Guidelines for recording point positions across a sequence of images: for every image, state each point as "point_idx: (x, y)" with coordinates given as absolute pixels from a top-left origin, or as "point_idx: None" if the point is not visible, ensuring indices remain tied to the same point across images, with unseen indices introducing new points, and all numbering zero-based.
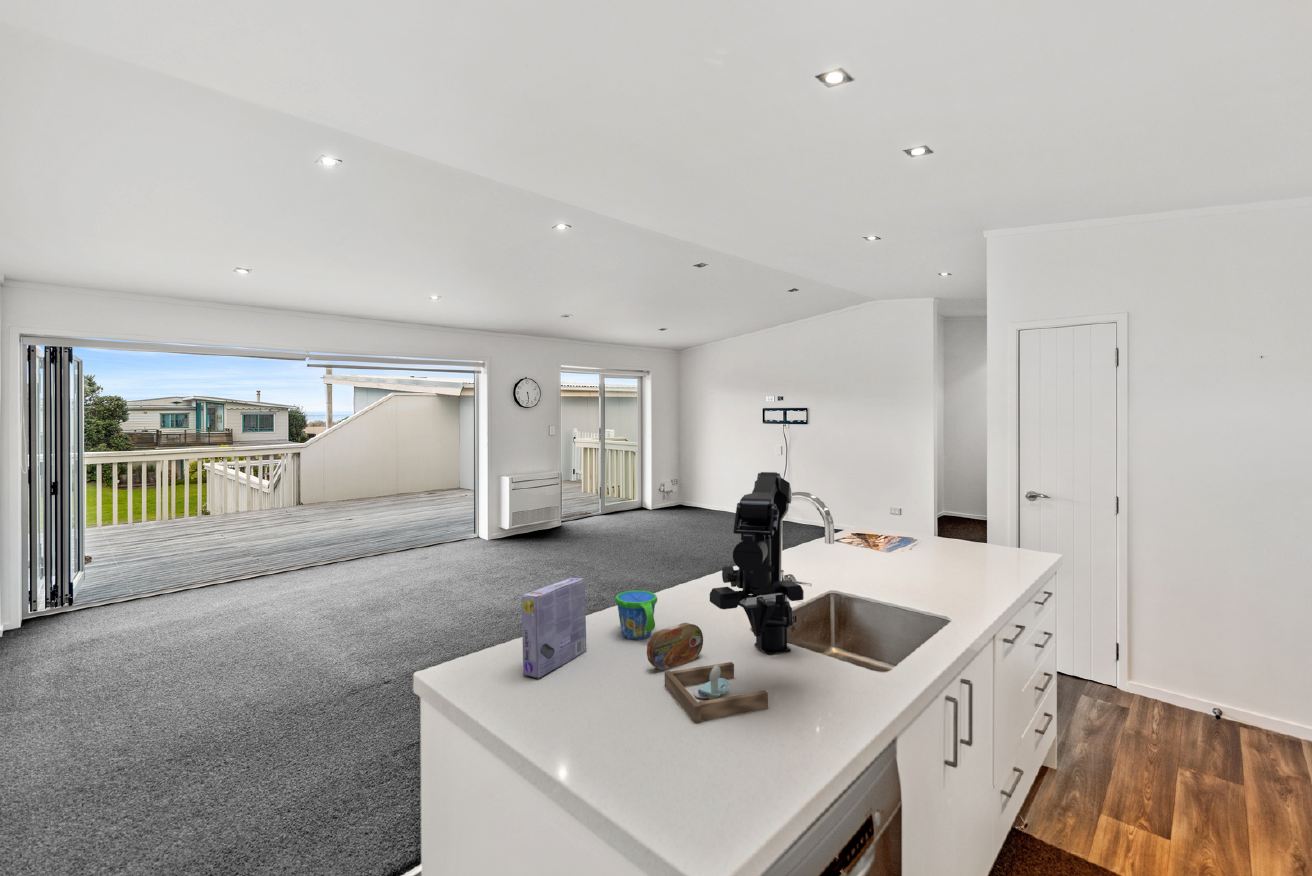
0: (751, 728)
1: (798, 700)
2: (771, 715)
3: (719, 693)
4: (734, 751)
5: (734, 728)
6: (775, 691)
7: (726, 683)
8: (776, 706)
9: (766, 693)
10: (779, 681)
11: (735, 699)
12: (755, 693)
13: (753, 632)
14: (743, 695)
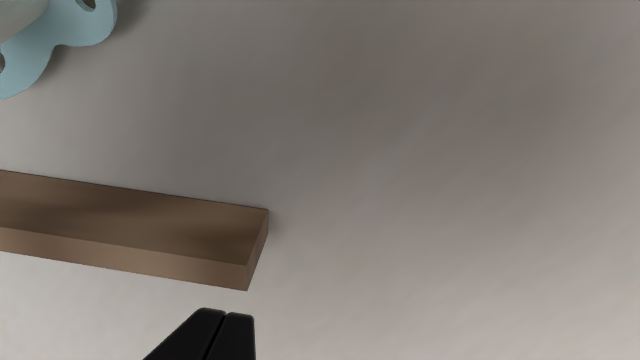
0: (127, 301)
1: (464, 244)
2: None
3: (48, 48)
4: (28, 356)
5: (63, 275)
6: (424, 118)
7: (102, 2)
8: (318, 235)
9: (238, 287)
10: (562, 14)
11: (59, 258)
12: (179, 267)
13: (174, 340)
14: (108, 255)
